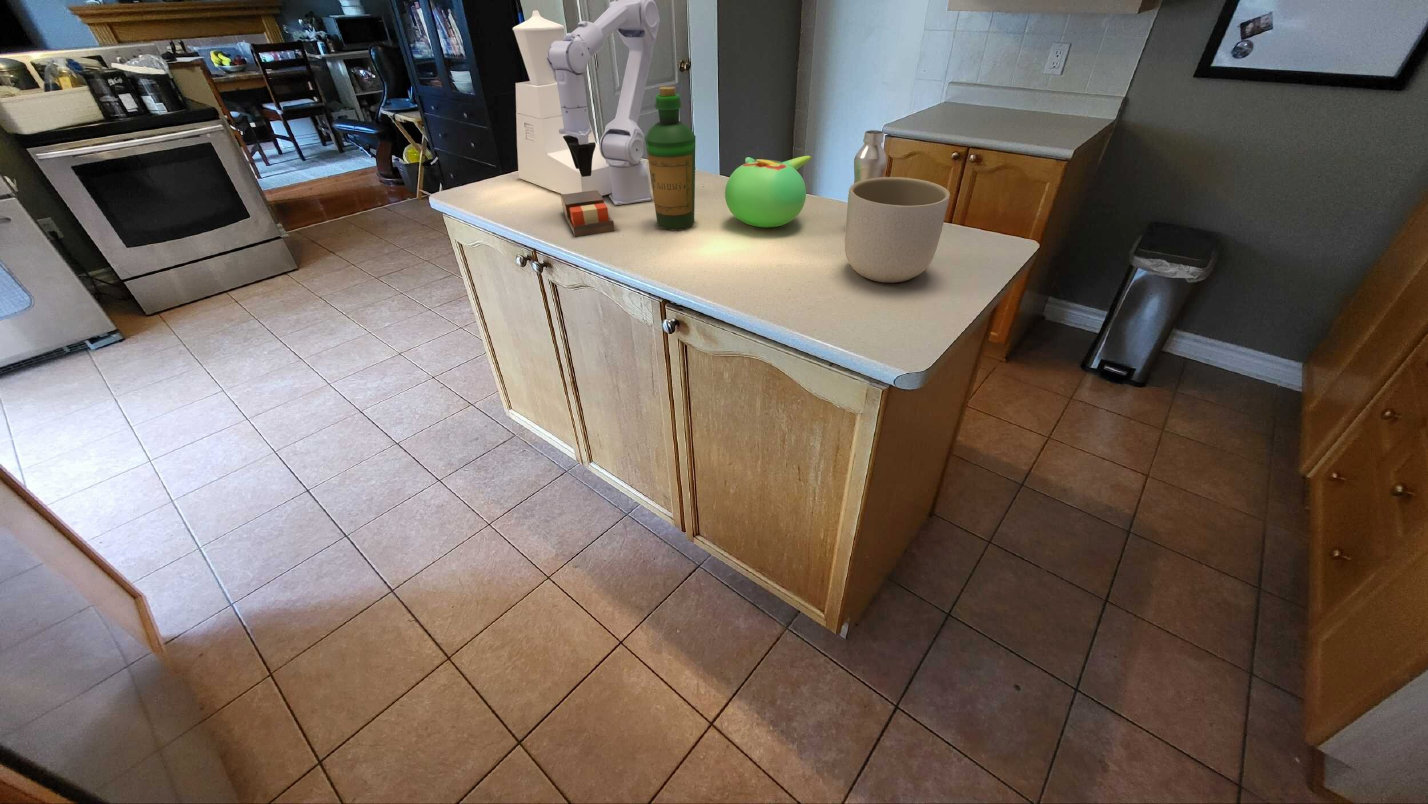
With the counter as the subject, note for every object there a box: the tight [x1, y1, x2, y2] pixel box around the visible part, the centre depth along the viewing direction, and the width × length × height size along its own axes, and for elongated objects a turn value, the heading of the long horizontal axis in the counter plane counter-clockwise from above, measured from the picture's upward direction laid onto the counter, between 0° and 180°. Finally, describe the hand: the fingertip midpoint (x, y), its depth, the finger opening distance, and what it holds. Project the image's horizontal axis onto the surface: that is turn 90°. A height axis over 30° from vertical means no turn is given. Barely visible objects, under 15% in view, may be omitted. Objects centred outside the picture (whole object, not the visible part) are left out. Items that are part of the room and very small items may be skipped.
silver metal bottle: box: [853, 129, 888, 184], centre depth 120 cm, size 6×7×20 cm
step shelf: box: [559, 190, 615, 237], centre depth 133 cm, size 9×17×4 cm, turn 20°
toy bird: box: [724, 155, 812, 228], centre depth 126 cm, size 18×17×15 cm
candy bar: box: [570, 202, 610, 226], centre depth 129 cm, size 8×4×3 cm, turn 110°
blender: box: [512, 9, 612, 197], centre depth 147 cm, size 33×18×40 cm, turn 44°
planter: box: [844, 176, 951, 284], centre depth 104 cm, size 17×17×15 cm
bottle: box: [644, 86, 696, 231], centre depth 123 cm, size 11×11×28 cm
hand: (583, 172), depth 131 cm, fingers open, 7 cm apart
